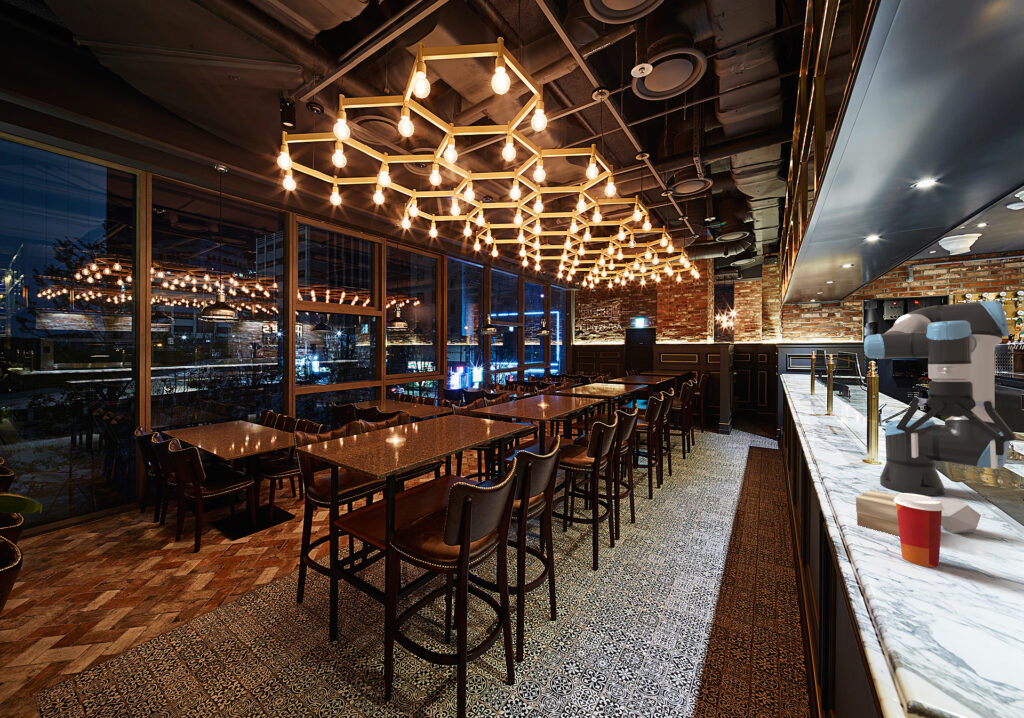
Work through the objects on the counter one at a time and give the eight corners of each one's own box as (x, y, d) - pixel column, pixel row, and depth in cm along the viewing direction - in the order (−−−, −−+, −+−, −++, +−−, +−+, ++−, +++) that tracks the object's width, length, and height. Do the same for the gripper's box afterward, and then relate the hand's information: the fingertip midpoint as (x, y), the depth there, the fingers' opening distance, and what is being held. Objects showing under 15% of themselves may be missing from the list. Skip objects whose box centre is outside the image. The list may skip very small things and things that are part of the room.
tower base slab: (871, 517, 109) (871, 503, 109) (927, 531, 100) (927, 516, 100) (857, 527, 103) (856, 512, 103) (915, 543, 94) (914, 527, 94)
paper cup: (930, 554, 87) (928, 493, 87) (956, 572, 80) (953, 506, 80) (886, 550, 90) (885, 490, 90) (908, 567, 83) (906, 502, 83)
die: (988, 543, 93) (992, 507, 96) (951, 524, 95) (956, 489, 98) (952, 540, 101) (957, 507, 104) (918, 523, 102) (923, 490, 105)
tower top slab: (871, 503, 109) (870, 489, 109) (926, 516, 100) (926, 501, 100) (856, 512, 103) (855, 497, 104) (913, 526, 94) (913, 510, 94)
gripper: (880, 379, 108) (882, 454, 108) (1028, 382, 87) (1031, 476, 87) (888, 378, 112) (891, 451, 112) (1032, 381, 91) (1035, 470, 91)
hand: (952, 462), depth 99 cm, fingers open, 13 cm apart
